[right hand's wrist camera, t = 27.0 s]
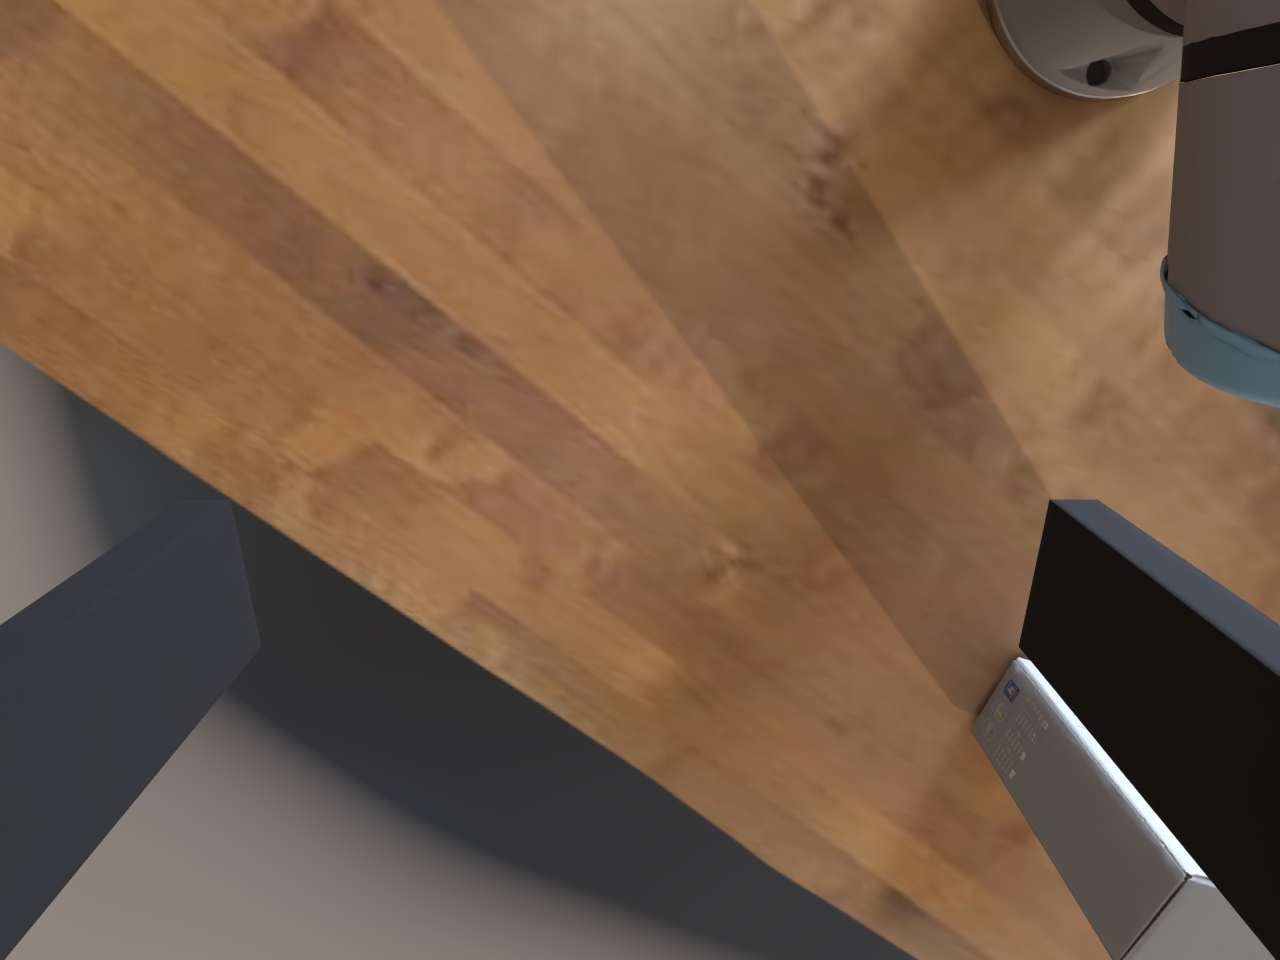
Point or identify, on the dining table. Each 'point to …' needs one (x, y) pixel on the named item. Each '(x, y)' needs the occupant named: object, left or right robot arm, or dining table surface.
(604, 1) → the dining table surface
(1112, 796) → the hard drive box
